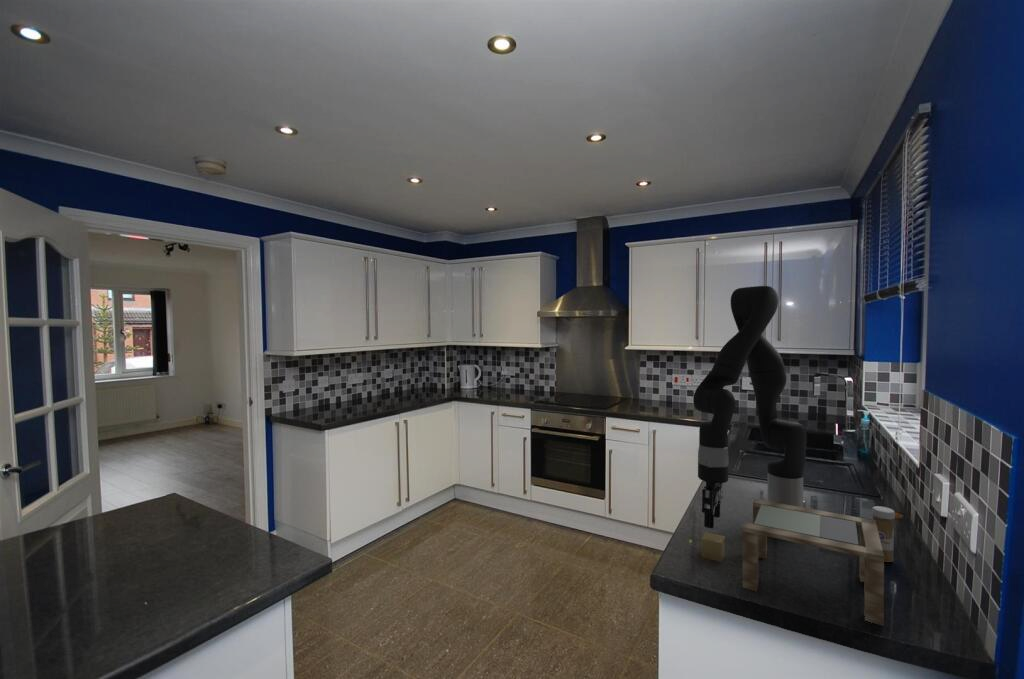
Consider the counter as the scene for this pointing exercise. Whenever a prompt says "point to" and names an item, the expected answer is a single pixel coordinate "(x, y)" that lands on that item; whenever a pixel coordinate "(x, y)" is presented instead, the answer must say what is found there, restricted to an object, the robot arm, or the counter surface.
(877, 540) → the trapdoor frame
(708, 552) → the block
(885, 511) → the sprinkles bottle
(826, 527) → the trapdoor
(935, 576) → the counter surface
